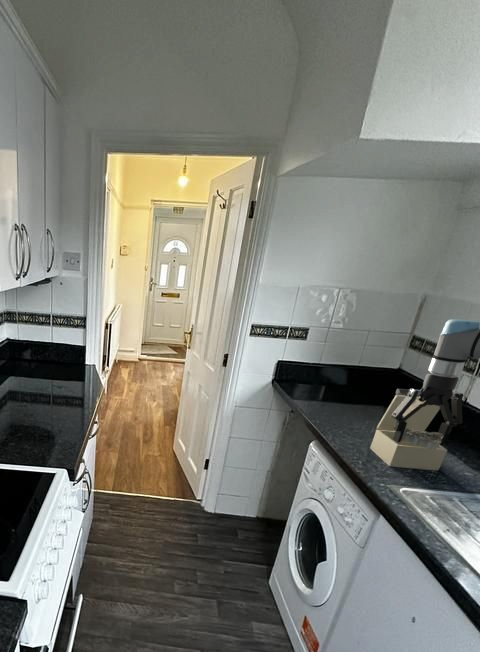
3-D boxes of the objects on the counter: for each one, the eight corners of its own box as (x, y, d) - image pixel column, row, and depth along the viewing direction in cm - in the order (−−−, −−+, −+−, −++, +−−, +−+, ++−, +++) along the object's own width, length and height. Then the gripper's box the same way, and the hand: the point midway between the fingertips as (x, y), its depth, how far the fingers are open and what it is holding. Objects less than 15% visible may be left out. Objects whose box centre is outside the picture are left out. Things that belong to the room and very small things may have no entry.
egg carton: (441, 446, 127) (446, 434, 125) (432, 452, 123) (438, 439, 121) (402, 433, 135) (407, 422, 133) (393, 438, 130) (398, 426, 129)
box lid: (445, 400, 138) (433, 386, 144) (396, 396, 139) (386, 383, 145) (423, 433, 147) (412, 419, 153) (377, 429, 148) (368, 415, 154)
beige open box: (438, 470, 138) (447, 449, 135) (389, 466, 140) (397, 445, 136) (414, 452, 151) (422, 433, 148) (369, 448, 152) (376, 429, 149)
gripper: (477, 373, 123) (450, 440, 131) (392, 368, 125) (371, 434, 133) (497, 380, 116) (467, 450, 124) (407, 374, 118) (383, 443, 126)
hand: (417, 442), depth 129 cm, fingers closed on egg carton, 12 cm apart
